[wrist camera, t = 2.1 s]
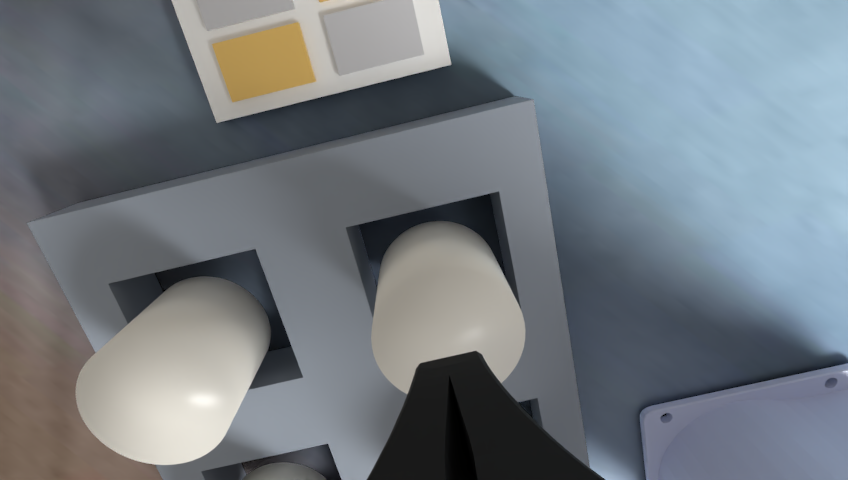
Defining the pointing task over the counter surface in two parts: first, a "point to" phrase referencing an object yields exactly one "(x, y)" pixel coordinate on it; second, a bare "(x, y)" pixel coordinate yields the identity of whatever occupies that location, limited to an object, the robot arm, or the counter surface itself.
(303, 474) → the button
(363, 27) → the tile
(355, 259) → the board
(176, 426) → the button
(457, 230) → the button
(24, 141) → the counter surface
